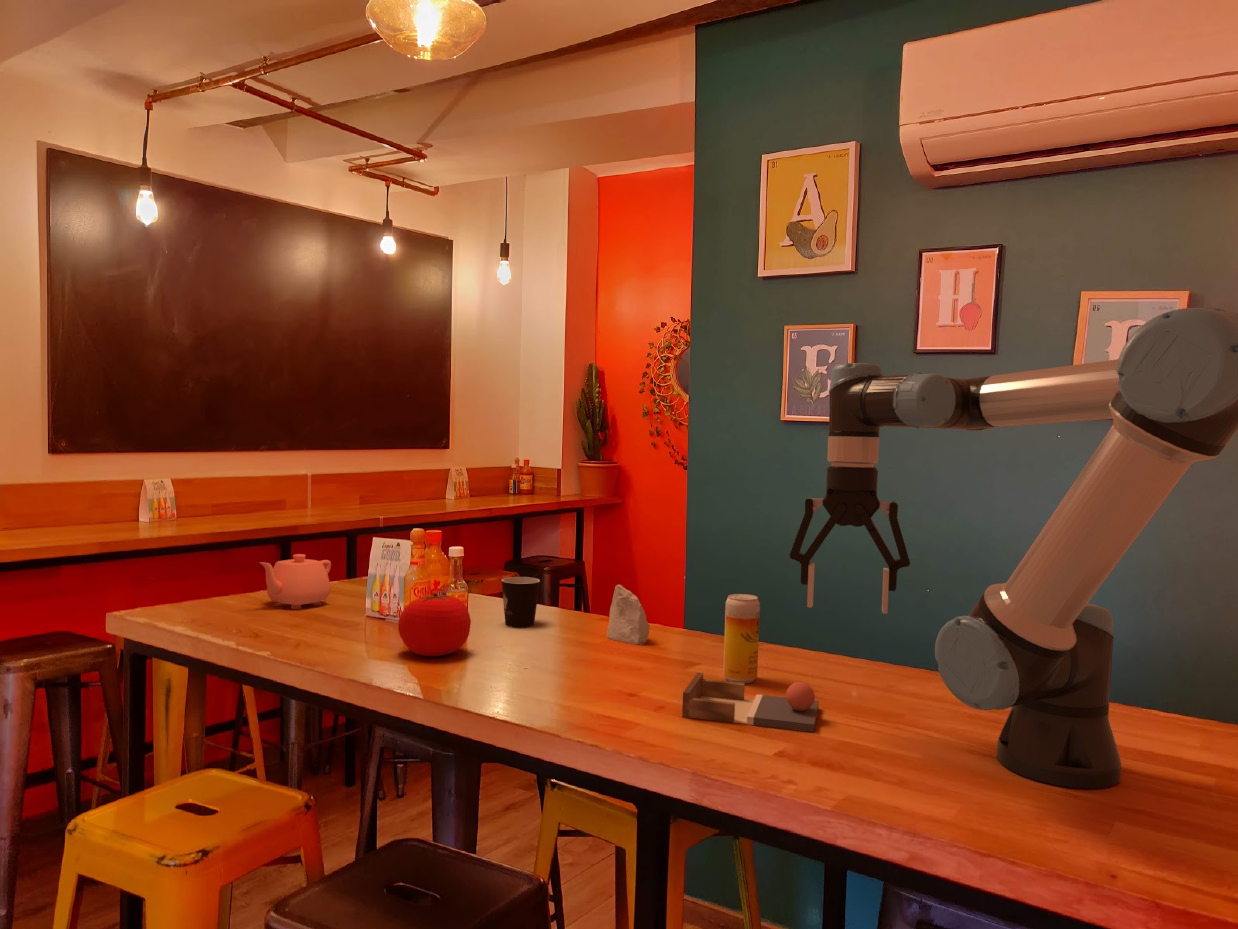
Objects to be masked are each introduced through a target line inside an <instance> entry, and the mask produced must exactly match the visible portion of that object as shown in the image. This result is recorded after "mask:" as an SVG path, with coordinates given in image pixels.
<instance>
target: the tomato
mask: <svg viewBox="0 0 1238 929" xmlns="http://www.w3.org/2000/svg"><path fill="white" fill-rule="evenodd" d="M470 615H471V614H470V612H469V610H468V608H467V606H466V604H465V603H464V602H463V601H462V600H461V599H459V598H458V597H455V596H453V595H446V594H445V595H444V594H438V593H436V592H434V593H433V595H432V594H431V595H425V596H423V595H422V596H419V597H418V598H416V599H414V600H412V601H411V602H409V603H408V604H407V605H406V606H405V607H404V608H403V610H402V612H401V613H400V615H399V617H398V622H397V623H398V627H397V628H398V633H399V637H400V638H401V640H402V642H403V644H404V645H405V646H406V647H407V648H408V650H410V651H411V652H413V653H414V654H416V655H420V656H424V657H441V656H445V655H450V654H452V653H454V652H457V651H458V650H459V649H460V648H462V647H463V645H465V643H467V641H468V638H469V635H470V630H471V626H472V625H471V623H472V621H471V620H472V619H471V616H470Z"/></svg>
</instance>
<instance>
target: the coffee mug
mask: <svg viewBox="0 0 1238 929" xmlns="http://www.w3.org/2000/svg"><path fill="white" fill-rule="evenodd" d="M540 583H541V580H540V579H539V578H536V577H529V576H514V577H505V578H502V579H501V589H502V601H503V614H504V625H505V626H506V627H510V628H517V629H518V628H519V629H523V628H531V627H534V625H535V620H536V612H537V604H538V597H539V592H540Z"/></svg>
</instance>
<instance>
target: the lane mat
mask: <svg viewBox="0 0 1238 929" xmlns="http://www.w3.org/2000/svg"><path fill="white" fill-rule="evenodd" d="M700 699H707V700H715V701H724V702H733V703H735V719H734V723H733V724H741V725H742V724H743V725H749V726H759V727H769V728H775V729H784V730H793V731H800V732H807V733H815V728H816V723H817V722H816V721H817V716H818V712H819V700H814V703H813V705H812V706H811V707H810V708H809V709H807V710H805V711H797V710H795V709H793V708H792V707H790V705H789V704H788V702H787V699H786V696H785V697H783V696H776V695H767V694H757V693H756V695H755V697H754V698H753V699H749V698H744V700H743V701H742V700H733V699H724V698H715V697H707V696H701V698H700Z"/></svg>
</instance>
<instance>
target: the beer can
mask: <svg viewBox="0 0 1238 929" xmlns="http://www.w3.org/2000/svg"><path fill="white" fill-rule="evenodd" d="M760 604H761V603H760V601H759V598H758V596H757V595H753V594H747V593H746V594H745V593H744V594H743V593H734V594H732V593H731V594H729V595H727V599H726V601H725V608H724V609H725V610H724V612H725V613H724V636H723V638H724V639H723V670H722V672H723V673H722V674H723V676H724V677H725V679H726V681H727V682H736V683H745V684H750V683H753V682H755V679H756V678H757V677H758V668H759V667H758V665H759V663H758V662H759V642H760V641H759V635H760V611H761V606H760Z"/></svg>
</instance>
